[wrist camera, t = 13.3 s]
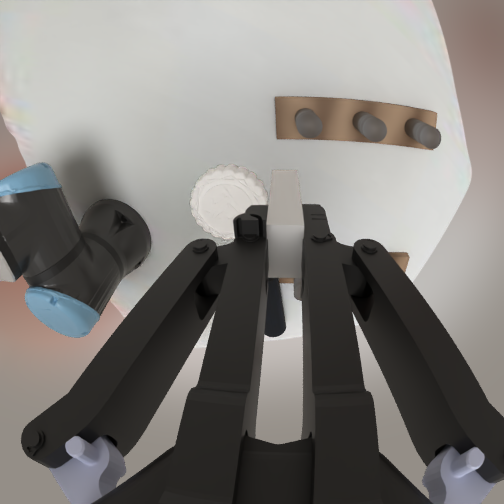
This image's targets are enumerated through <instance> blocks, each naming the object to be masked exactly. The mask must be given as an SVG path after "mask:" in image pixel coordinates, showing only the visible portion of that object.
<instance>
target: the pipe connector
mask: <svg viewBox="0 0 504 504" xmlns="http://www.w3.org/2000/svg"><path fill="white" fill-rule="evenodd" d="M285 329H286V323H285V317H284V311H283V305H282V298H281V292H280V286H279V280H278V278H268V295H267V307H266V319H265V331H264V334H265V335H267V336H269V337H277V336H280V335H281V334H283V333H284V331H285Z"/></svg>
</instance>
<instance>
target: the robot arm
mask: <svg viewBox="0 0 504 504" xmlns="http://www.w3.org/2000/svg"><path fill="white" fill-rule="evenodd" d="M61 188H62V186H61V184H59V182H58V180H57V178H56V176H55V174H54V172H53V169H52V168H51V166H50V165H49V164H47V163H43V162H42V163H37V164H34V165H32V166H29V167H27V168H25V169H22V170H20V171H18V172H16V173H14V174H12V175H10V176H8V177H6V178H4V179H2V180H0V281H9V282H15V281H16V280H17V279H18V278H19V277H20V276H21V275H23V277H24V279H25V280H26V282H27V283H28V285H29V286H30V287H29V288H28V289H27V290H26V294H25V301H26V304H27V306H28V308H29V309H30V311H31V312H32V313H33V314H34V315H35V316H36V317H37V318H38V319H39V320H40V321H41V322H43V323H44V324H45V325H46V326H48V327H49V328H51V329H53V330H55V331H56V332H58V333H60V334H63V335H65V336H69V337H74V338H80V337H84V336H86V335H88V334H89V333H90V331H91V329H92V328H93V326H94V325H95V324H96V322H97V321H99V319H100V316H101V314H102V312H103V310H104V309H105V307H106V305H107V303H108V302H109V300H110V298H111V296H112V295H113V293H114V291H115V289H116V288H117V286H118V284H119V283H120V281H121V280H122V278H123V277H125V276H126V275H128V274H129V273H131V272H132V271H133V270H135V269H136V268H138V267H139V266H140V265H141V264H142V263H143V262H144V260H145V259H146V257H147V255H148V254H149V251H150V247H151V238H150V233H149V230H148V228H147V226H146V224H145V222H144V221H143V219H142V218H141V217H140V215H139V214H138V213H137V212H136V211H135V210H133V209H132V208H131V207H129V206H128V205H126V204H124V203H122V202H120V201H116V200H110V199H107V200H101V201H98V202H97V203H95V204H94V205H93V206H91V207H90V208H89V209H88V210H87V211H86V213H85V214H84V216H83V218H82V221H81V224H80V226H79V227H78V225H77V223H76V221H75V219H74V216H73V214H72V212H71V210H70V208H69V205H68V203H67V201H66V198H65V196H64V194H63V191H62V189H61ZM233 226H234V235H235V239H234V242H232V243H230V244H227V245H223V246H218V247H217V246H216V243H215V242H214V241H213V240H210V239H198V240H195V241H193V242H190V243H189V244H188V245H187V246H186V247H185V248H184V249H183V250H182V251H181V253H180V254H179V255H178V256H177V257H176V258H175V259H174V261H173V262H172V263H171V264H170V265H169V266H168V267H167V269H166V270H165V271H164V272H163V273H162V274H161V276H160V277H159V278H158V279H157V280H156V281H155V283H154V284H153V285H152V286H151V287H150V289H149V290H148V291H147V292H146V293H145V295H144V296H143V297H142V298H141V299H140V301H139V302H138V303H137V304H136V305H135V307H134V308H133V309H132V310H131V312H130V313H129V314H128V315H127V316H126V318H125V319H124V320H123V322H122V323H121V324H120V325H119V326H118V328H117V329H116V330H115V332H114V333H113V335H111V337H110V338H109V339H108V341H107V342H106V343H105V344H104V346H103V347H102V348H101V350H100V351H99V352H98V353H97V355H96V356H95V358H94V359H93V360H92V362H91V363H90V364H89V365H88V367H87V368H86V369H85V371H84V372H83V373H82V375H81V376H80V378H79V379H78V380H77V382H76V383H75V384H74V386H73V387H72V389H71V390H70V392H69V393H68V394H66V395H65V396H64V397H63V398H61V399H60V400H59V401H57V402H56V403H55V404H53V405H52V406H51V407H49V408H48V409H47V410H45V411H44V412H43V413H41V414H40V415H39V416H38V417H36V418H35V419H34V420H32V421H31V422H30V423H29V424H28V425H27V426H26V427H25V428H24V430H23V433H22V437H21V444H22V447H23V450H24V452H25V454H26V455H27V456H28V457H30V458H31V459H32V460H34V461H36V462H38V463H40V464H42V465H44V466H46V467H48V468H49V469H50V471H51V472H52V474H53V476H54V478H55V479H56V481H57V483H58V484H59V486H60V487H61V489H62V491H63V492H64V494H65V495H66V497H67V498H68V500H69V501H70V503H71V504H481V502H482V501H483V500H484V499H485V497H486V496H487V494H488V493H489V492H490V490H491V489H492V488H493V486H494V485H495V484H496V483H497V482H499V481H501V480H504V417H503V416H502V415H501V414H500V413H499V412H498V411H497V410H496V409H495V408H494V407H493V406H492V405H491V404H490V403H489V402H488V400H487V398H486V396H485V394H484V392H483V390H482V389H481V387H480V385H479V383H478V381H477V380H476V378H475V376H474V374H473V373H472V371H471V369H470V367H469V366H468V364H467V363H466V361H465V359H464V357H463V356H462V354H461V352H460V351H459V349H458V348H457V346H456V345H455V343H454V341H453V340H452V338H451V337H450V335H449V334H448V332H447V331H446V329H445V328H444V326H443V325H442V323H441V322H440V320H439V319H438V318H437V316H436V315H435V313H434V312H433V310H432V309H431V308H430V306H429V305H428V303H427V302H426V300H425V299H424V298H423V296H422V295H421V294H420V292H419V291H418V290H417V288H416V287H415V286H414V285H413V283H412V282H411V280H410V279H409V278H408V276H407V275H406V274H405V273H404V271H403V270H402V269H401V268H400V266H399V265H398V264H397V263H396V261H395V260H394V259H393V258H392V256H391V255H390V254H389V253H388V251H387V250H386V249H385V248H384V247H383V246H382V245H381V244H380V243H379V242H377V241H374V240H370V239H361V240H357V241H356V242H355V243H354V247H352V246H347V245H343V244H341V243H338V242H337V241H336V238H335V236H334V235H333V234H332V233H330V229H329V225H328V221H327V217H326V213H325V210H324V208H323V207H321V206H320V205H316V204H302V202H301V194H300V186H299V179H298V172H297V170H272V177H271V186H270V195H269V205H251V206H249V207H248V208H247V209H246V211H245V213H243V214H240V215H238V216H236V217H235V218H234V219H233ZM268 278H302V281H301V296H300V298H302V323H303V427H302V436H301V440H298V441H294V442H289V443H285V444H272V443H269V442H265V441H262V440H258V439H255V427H256V416H257V405H258V396H259V386H260V375H261V365H262V354H263V342H264V331H265V319H266V307H267V295H268ZM215 311H216V312H215ZM214 312H215V316H214V319H213V323H212V327H211V331H210V336H209V340H208V344H207V348H206V352H205V356H204V360H203V364H202V369H201V372H200V377H199V381H198V384H197V386H196V387H194V388H191V390H190V391H189V393H188V396H187V399H186V403H185V407H184V411H183V415H182V419H181V423H180V427H179V431H178V436H177V440H176V444H175V446H174V447H172V448H170V449H169V450H167V451H166V452H165V453H163V454H162V455H161V456H159V457H158V458H157V459H155V460H154V461H153V462H151V463H150V464H149V465H147V466H146V467H145V468H143V469H142V470H141V471H139V472H138V473H136V474H135V475H134V476H132V477H131V478H129V479H128V480H127V481H126V482H124V483H122V484H121V485H119V486H118V487H117V488H116V484H117V482H118V480H119V479H120V477H123V476H124V475H125V473H126V467H125V462H124V458H123V457H124V456H125V455H127V454H128V453H129V452H130V450H131V449H132V448H133V447H134V446H135V445H136V443H137V442H138V440H139V439H140V437H141V436H142V434H143V433H144V431H145V430H146V428H147V426H148V424H149V423H150V421H151V419H152V418H153V416H154V414H155V412H156V411H157V409H158V408H159V406H160V404H161V402H162V401H163V399H164V397H165V395H166V394H167V392H168V390H169V389H170V387H171V385H172V384H173V382H174V380H175V379H176V377H177V375H178V373H179V372H180V370H181V368H182V367H183V365H184V363H185V361H186V360H187V358H188V356H189V355H190V353H191V351H192V350H193V348H194V346H195V345H196V343H197V341H198V340H199V338H200V336H201V334H202V333H203V331H204V329H205V328H206V326H207V324H208V323H209V321H210V319H211V317H212V316H213V314H214ZM352 312H353V314H354V316H355V318H356V320H357V322H358V323H359V325H360V327H361V329H362V331H363V333H364V335H365V337H366V339H367V342H368V344H369V346H370V348H371V350H372V352H373V354H374V356H375V358H376V360H377V362H378V364H379V366H380V369H381V371H382V373H383V375H384V377H385V379H386V381H387V384H388V386H389V388H390V390H391V393H392V395H393V397H394V399H395V402H396V404H397V406H398V408H399V411H400V413H401V416H402V418H403V420H404V422H405V425H406V428H407V430H408V432H409V435H410V437H411V440H412V442H413V444H414V446H415V448H416V451H417V452H418V454H419V456H420V457H421V459H422V460H423V462H424V463H425V465H426V466H427V469H426V471H425V475H424V476H423V480H422V483H423V485H424V486H425V487H426V488H427V490H428V492H429V499H428V498H427V497H425V495H424V494H422V493H421V492H420V491H419V490H418V489H417V488H416V487H415V486H414V485H413V484H412V483H411V482H410V481H409V480H408V479H407V478H406V477H405V476H404V475H403V474H402V473H401V472H400V471H399V470H398V469H397V468H396V467H395V466H394V465H393V464H392V463H391V462H390V461H389V460H388V459H387V458H386V457H385V456H384V455H383V454H381V453H380V452H379V449H378V436H377V426H376V416H375V408H374V401H373V398H372V395H371V393H370V392H369V391H366V389H365V387H364V381H363V374H362V367H361V360H360V353H359V348H358V341H357V336H356V330H355V324H354V319H353V314H352Z"/></svg>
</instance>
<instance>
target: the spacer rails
mask: <svg viewBox="0 0 504 504" xmlns="http://www.w3.org/2000/svg"><path fill="white" fill-rule="evenodd" d="M275 108H276V132H277V139H314V140H339V141H356V142H369V143H380V144H389V145H398V146H406V147H414V148H421V149H428V150H433V149H435V148H437V147H438V146H439V144H440V142H441V134H440V132H439V130H438V129H436V121H437V113H436V112H433V111H429V110H424V109H419V108H413V107H408V106H402V105H395V104H389V103H381V102H373V101H364V100H354V99H342V98H326V97H275ZM388 253H389V254H390V255H391V256H392V258H393V259H394V260H395V261H396V263H397V264H398V265H399V266H400V268H401V269H402V270H403V271H404V273H405V271H406V267H407V264H408V261H409V258H410V257H409V255H408V253H399V252H388ZM301 281H302V278H279V283H294V297H295V298H296V299H297V300H300V301H302V298H300V296H301Z"/></svg>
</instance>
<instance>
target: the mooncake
mask: <svg viewBox="0 0 504 504" xmlns="http://www.w3.org/2000/svg"><path fill="white" fill-rule="evenodd" d="M191 197H192V198H191V199H190V202H189V204H190V206H191V207H192V210H191V214H192V215H193V216H194V217H195V218H196V223H197V224H198V225H200V226H202V228H203V230H204V231H205V232H208V233H211V234H212V235H213V236H214V237H222V238H223V239H225V240H229V239H231V238H232V239H235V235H234V226H233V219H234V218H235V217H236V216H238V215H240V214H243V213H245V211H246V209H247V208H248V207H249V206H251V205H268V201H267V191H266V190H265V189H264V184H263V182H262V181H261V180H259V179H257V175H256V174H255V173H254V172H248V170H247V168H245V167H242V166H241V167H237V166H236V165H234V164H229V165H227V166H225V165H218V166H217V167H216V168H211V169H209V170H207V172H206V173H205V174H204V175H202V176H201V177H200V178H199V179H198V181H197V182H196V184H195V187H194V188H193V190H192V191H191Z"/></svg>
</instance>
